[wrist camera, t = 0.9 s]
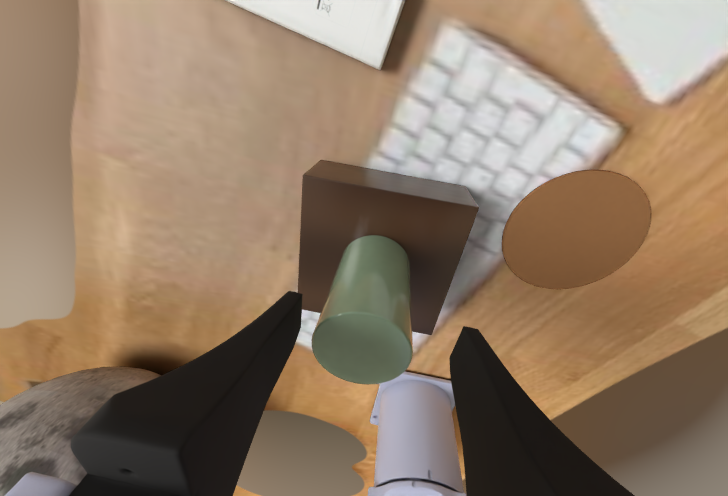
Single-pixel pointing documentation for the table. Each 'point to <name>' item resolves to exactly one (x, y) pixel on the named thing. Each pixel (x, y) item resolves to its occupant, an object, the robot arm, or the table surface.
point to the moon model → (56, 422)
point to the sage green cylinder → (367, 314)
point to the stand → (383, 230)
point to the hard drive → (336, 23)
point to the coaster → (576, 229)
